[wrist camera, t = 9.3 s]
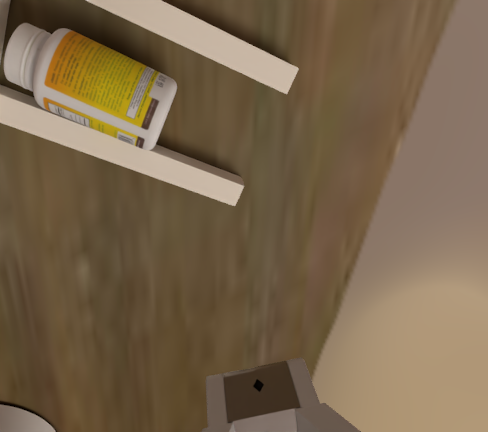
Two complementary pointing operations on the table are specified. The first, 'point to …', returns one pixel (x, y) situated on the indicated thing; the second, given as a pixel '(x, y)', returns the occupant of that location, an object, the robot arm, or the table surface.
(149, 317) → the table surface
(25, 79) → the supplement bottle
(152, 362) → the table surface
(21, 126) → the u rest
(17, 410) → the robot arm
